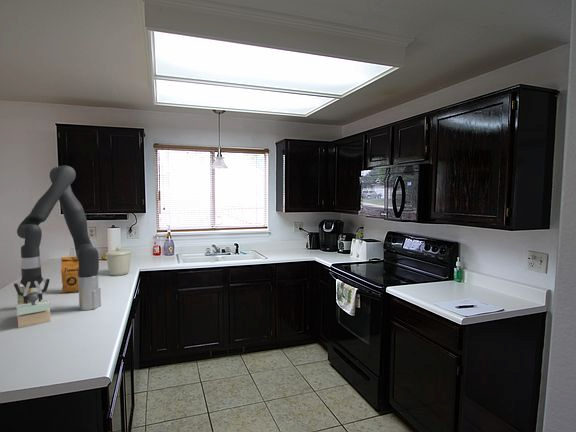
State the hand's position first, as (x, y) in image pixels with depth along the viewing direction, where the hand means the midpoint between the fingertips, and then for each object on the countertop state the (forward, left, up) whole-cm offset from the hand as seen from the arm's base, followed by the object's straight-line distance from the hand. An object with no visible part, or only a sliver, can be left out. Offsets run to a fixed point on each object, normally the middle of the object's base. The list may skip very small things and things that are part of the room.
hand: (33, 302), depth 163 cm
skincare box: (+20, -21, -10) cm, 31 cm away
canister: (+9, -98, -10) cm, 99 cm away
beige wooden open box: (+3, -4, -10) cm, 11 cm away
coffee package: (+14, -52, -10) cm, 55 cm away
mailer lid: (+3, -3, -5) cm, 7 cm away
